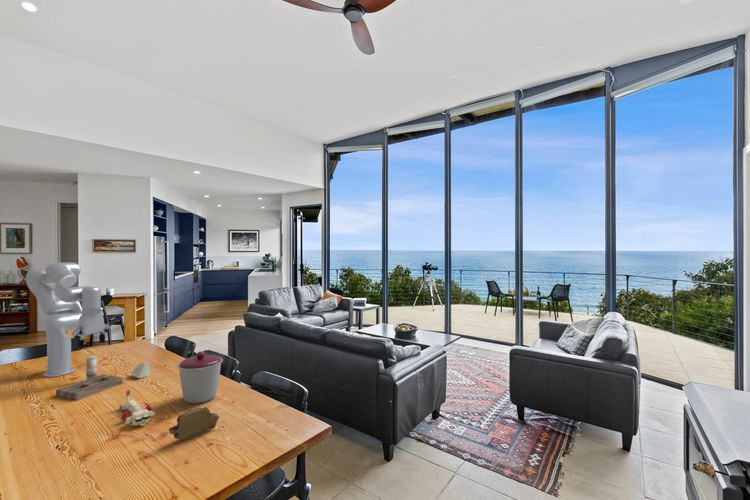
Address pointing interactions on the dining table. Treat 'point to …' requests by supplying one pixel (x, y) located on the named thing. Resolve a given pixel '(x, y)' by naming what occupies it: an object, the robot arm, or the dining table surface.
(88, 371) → the grey domed cylinder
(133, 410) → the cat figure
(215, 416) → the wooden carving
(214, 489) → the dining table surface
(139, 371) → the seashell
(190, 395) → the canister
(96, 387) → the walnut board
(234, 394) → the dining table surface
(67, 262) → the robot arm
